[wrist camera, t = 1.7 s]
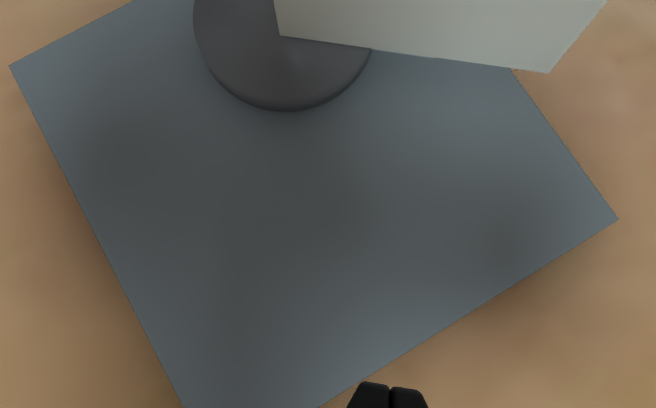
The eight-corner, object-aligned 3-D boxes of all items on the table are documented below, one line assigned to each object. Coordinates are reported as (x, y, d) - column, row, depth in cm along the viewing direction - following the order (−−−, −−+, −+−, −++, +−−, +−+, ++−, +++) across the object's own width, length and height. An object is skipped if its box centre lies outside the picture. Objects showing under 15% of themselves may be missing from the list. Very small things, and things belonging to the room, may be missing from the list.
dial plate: (606, 224, 22) (620, 218, 21) (221, 465, 21) (215, 472, 20) (368, -106, 26) (370, -125, 25) (21, 76, 24) (6, 64, 23)
